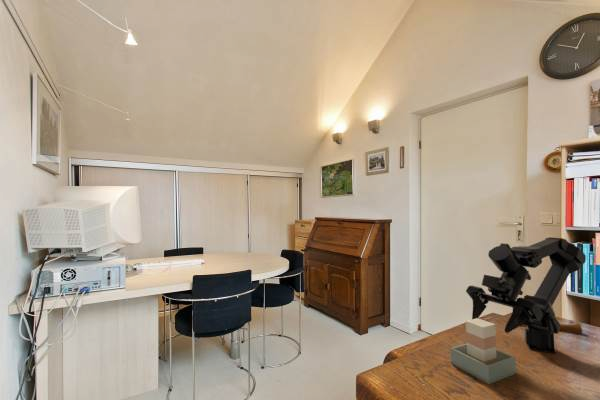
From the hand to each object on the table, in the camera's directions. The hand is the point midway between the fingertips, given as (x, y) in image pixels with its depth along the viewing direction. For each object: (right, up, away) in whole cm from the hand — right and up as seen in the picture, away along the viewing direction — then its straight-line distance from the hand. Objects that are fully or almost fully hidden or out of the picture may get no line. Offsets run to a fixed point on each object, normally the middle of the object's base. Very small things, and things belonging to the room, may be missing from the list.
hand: (488, 325), depth 82 cm
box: (-3, -11, -2) cm, 12 cm away
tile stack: (-3, -10, -2) cm, 11 cm away
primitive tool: (+36, -12, +24) cm, 45 cm away
